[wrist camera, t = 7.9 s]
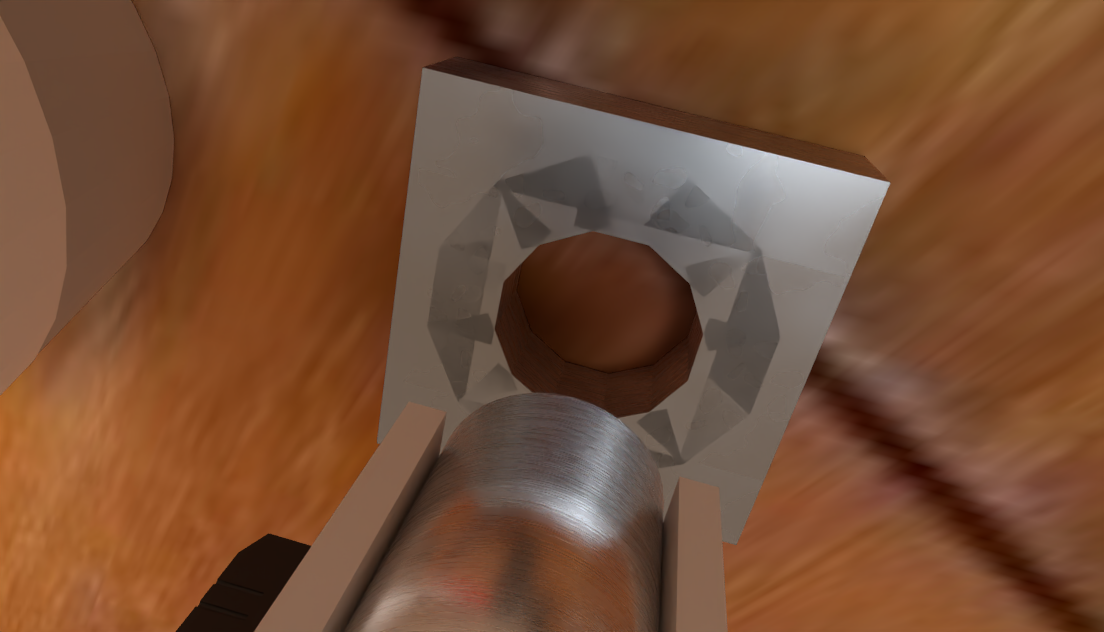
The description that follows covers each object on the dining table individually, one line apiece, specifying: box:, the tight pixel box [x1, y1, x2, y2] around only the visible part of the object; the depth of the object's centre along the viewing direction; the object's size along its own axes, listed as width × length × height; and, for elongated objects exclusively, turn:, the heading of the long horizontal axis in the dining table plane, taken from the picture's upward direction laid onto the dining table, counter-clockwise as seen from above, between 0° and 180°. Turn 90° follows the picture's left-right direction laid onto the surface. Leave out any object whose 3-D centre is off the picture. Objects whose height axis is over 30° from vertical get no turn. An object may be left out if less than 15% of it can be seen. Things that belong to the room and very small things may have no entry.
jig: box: [377, 57, 890, 545], centre depth 22 cm, size 12×12×3 cm
